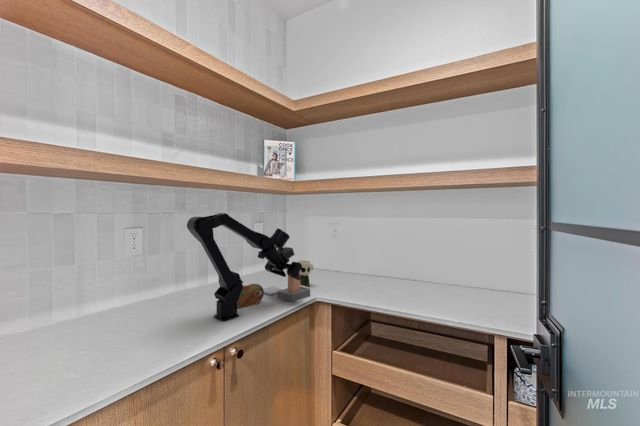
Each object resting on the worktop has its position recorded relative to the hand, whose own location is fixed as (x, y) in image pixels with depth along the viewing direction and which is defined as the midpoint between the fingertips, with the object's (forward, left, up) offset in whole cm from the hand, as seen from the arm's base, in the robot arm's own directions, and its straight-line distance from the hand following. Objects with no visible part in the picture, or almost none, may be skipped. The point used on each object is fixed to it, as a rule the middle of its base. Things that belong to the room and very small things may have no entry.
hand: (292, 277), depth 124 cm
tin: (-20, +7, -9) cm, 23 cm away
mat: (-1, +13, -9) cm, 16 cm away
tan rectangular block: (+1, 0, -9) cm, 9 cm away
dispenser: (+1, 0, -9) cm, 9 cm away
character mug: (+16, +8, -9) cm, 20 cm away
